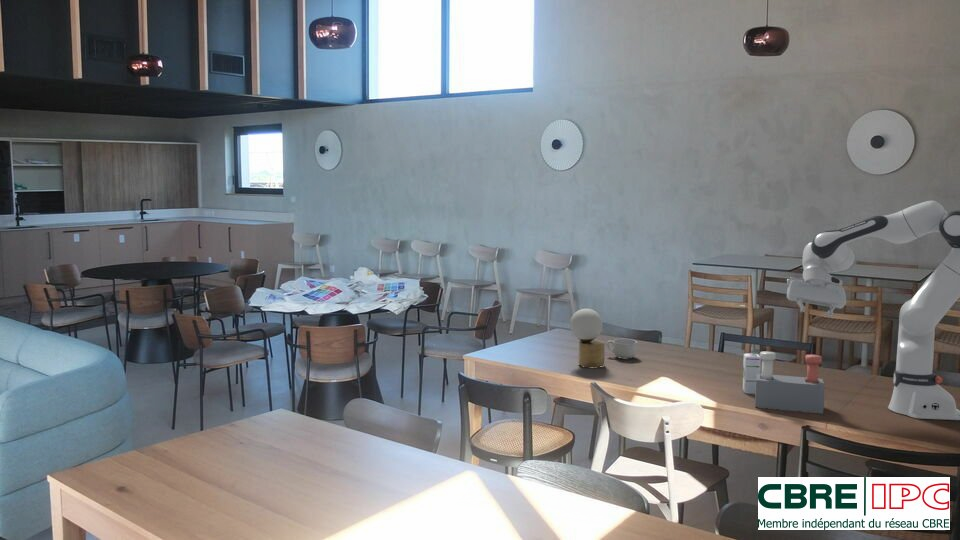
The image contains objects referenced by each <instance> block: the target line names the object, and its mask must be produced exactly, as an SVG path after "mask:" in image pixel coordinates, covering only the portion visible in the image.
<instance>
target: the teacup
mask: <svg viewBox="0 0 960 540" xmlns="http://www.w3.org/2000/svg"><path fill="white" fill-rule="evenodd" d="M610 343H611V344H612V347H613V348H611V346H610V345H609V344H610ZM605 347H606V348H607V349H608V350H609V351H611V353H613V354H614V355H615V356H616V358H618V357H621V358H631V359H632V357H633V358H634V357H635V356H636V354H637V350H638V340H635V339H632V338H623V337H621V338H616V339H613V340H612V339H610V340H607V341H606V343H605Z"/></svg>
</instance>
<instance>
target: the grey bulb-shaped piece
mask: <svg viewBox="0 0 960 540" xmlns="http://www.w3.org/2000/svg"><path fill="white" fill-rule="evenodd" d="M759 356H760V359H761V360H762V361H761V374H762V377H761V379H772V375H773V371H774V370H773V367H774V361H775V360H776V356H777V354H776V352H773V351H765V350H764V351H763V350H762V351H760V352H759Z"/></svg>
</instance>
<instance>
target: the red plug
mask: <svg viewBox="0 0 960 540" xmlns="http://www.w3.org/2000/svg"><path fill="white" fill-rule="evenodd" d="M804 359H805V360H804V361H805V363H807V364H806V365H807V369H806V377H807V382H809V383H818V378H819V368H820V364H822V359H823V358H822V355H817V354H805V358H804Z"/></svg>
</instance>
